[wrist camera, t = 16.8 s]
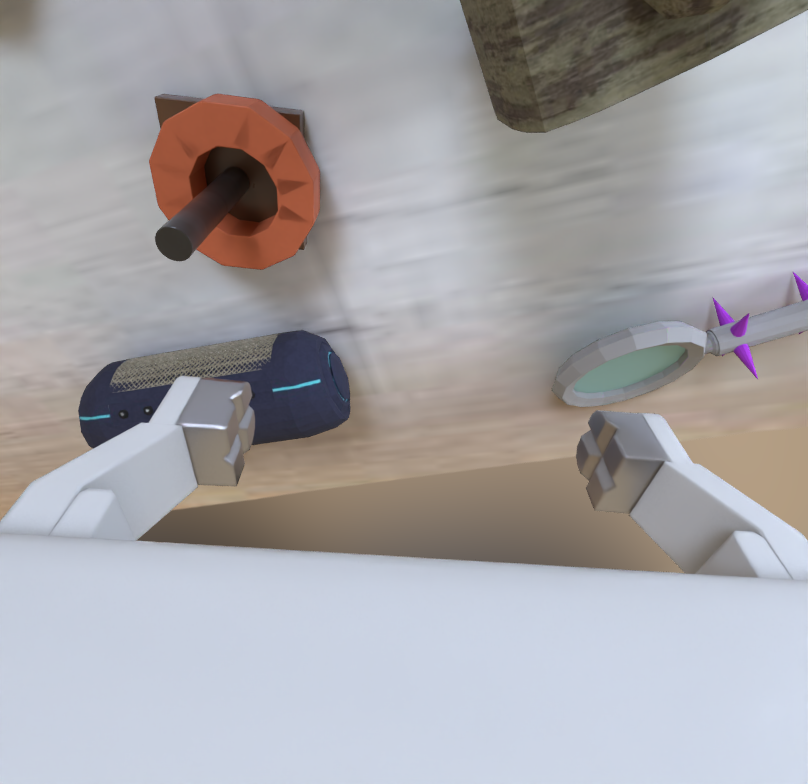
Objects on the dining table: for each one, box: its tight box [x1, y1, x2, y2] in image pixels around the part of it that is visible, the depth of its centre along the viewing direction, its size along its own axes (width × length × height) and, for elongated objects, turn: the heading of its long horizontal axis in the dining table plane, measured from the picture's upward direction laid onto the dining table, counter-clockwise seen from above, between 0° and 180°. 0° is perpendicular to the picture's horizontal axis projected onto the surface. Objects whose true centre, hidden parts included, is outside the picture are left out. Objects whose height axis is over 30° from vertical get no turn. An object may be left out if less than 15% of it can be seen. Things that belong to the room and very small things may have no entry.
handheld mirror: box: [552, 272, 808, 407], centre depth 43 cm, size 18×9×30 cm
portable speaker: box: [78, 330, 350, 449], centre depth 45 cm, size 25×10×10 cm, turn 101°
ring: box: [149, 94, 320, 270], centre depth 35 cm, size 11×11×3 cm
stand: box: [155, 94, 307, 261], centre depth 32 cm, size 10×10×14 cm
